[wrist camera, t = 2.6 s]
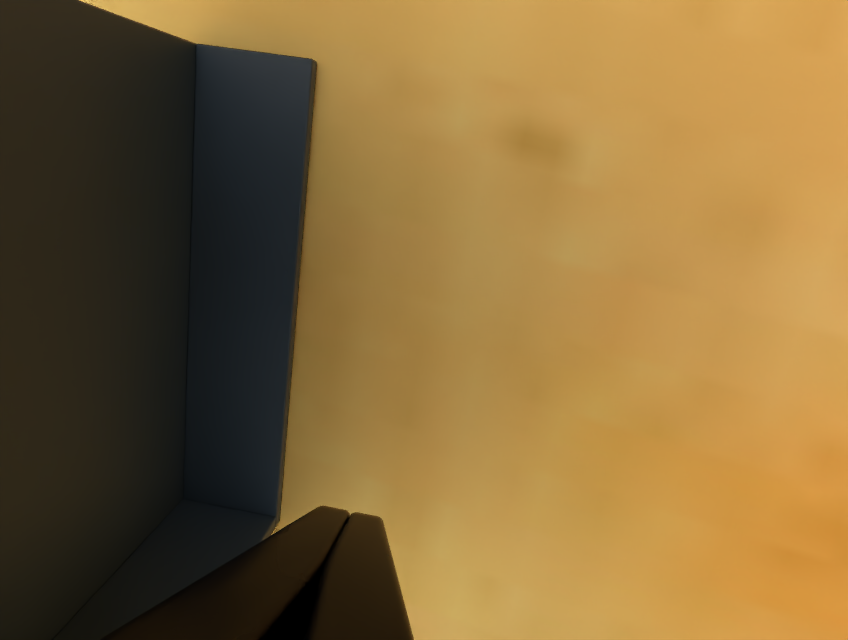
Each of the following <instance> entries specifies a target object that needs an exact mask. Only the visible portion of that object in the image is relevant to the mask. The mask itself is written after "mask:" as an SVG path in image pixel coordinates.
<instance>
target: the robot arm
mask: <svg viewBox="0 0 848 640" xmlns="http://www.w3.org/2000/svg"><path fill="white" fill-rule="evenodd" d="M101 640H414V639H413V635H412V631H411V627H410V623H409V619H408V616H407V612H406V608H405V604H404V600H403V596H402V593H401V589H400V585H399V581H398V577H397V573H396V570H395V566H394V562H393V558H392V554H391V550H390V546H389V543H388V539H387V535H386V531H385V527H384V523H383V521H382V519H381V518H380V517H378V516H373V515H368V514H363V513H358V512H355V513H352V514H351V515H350V513H349V512H348V511H347V510H343V509H338V508H333V507H328V506H319V507H317V508H316V509H314V510H312V511H311V512H309V513H307V514H306V515H304V516H302V517H301V518H299V519H297V520H296V521H294V522H292V523H291V524H289V525H287V526H286V527H284V528H283V529H281V530H279V531H278V532H276V533H274V534H273V535H271V536H269V537H268V538H266V539H264V540H263V541H261V542H259V543H258V544H256V545H254V546H253V547H251V548H250V549H248V550H246V551H245V552H243V553H241V554H240V555H238V556H236V557H235V558H233V559H231V560H230V561H228V562H226V563H225V564H223V565H221V566H220V567H218V568H217V569H215V570H213V571H212V572H210V573H208V574H207V575H205V576H203V577H202V578H200V579H198V580H197V581H195V582H193V583H192V584H190V585H188V586H187V587H185V588H184V589H182V590H180V591H179V592H177V593H175V594H174V595H172V596H170V597H169V598H167V599H165V600H164V601H162V602H160V603H159V604H157V605H156V606H154V607H152V608H151V609H149V610H147V611H146V612H144V613H142V614H141V615H139V616H137V617H136V618H134V619H132V620H131V621H129V622H127V623H126V624H124V625H123V626H121V627H119V628H118V629H116V630H114V631H113V632H111V633H109V634H108V635H106V636H104V637H103V638H101Z"/></svg>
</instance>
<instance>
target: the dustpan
mask: <svg viewBox="0 0 848 640" xmlns="http://www.w3.org/2000/svg"><path fill="white" fill-rule="evenodd" d="M316 66H317V62H316V61H315V60H313V59H309V58H301V57H294V56H286V55H279V54H271V53H264V52H256V51H249V50H241V49H234V48H227V47H219V46H212V45H204V44H195V43H193V42H190V41H187V40H185V39H182V38H179V37H176V36H174V35H171V34H168V33H166V32H163V31H160V30H157V29H155V28H152V27H149V26H147V25H144V24H141V23H138V22H136V21H133V20H130V19H128V18H125V17H122V16H119V15H117V14H114V13H111V12H109V11H106V10H103V9H101V8H98V7H95V6H92V5H90V4H87V3H84V2H82V1H79V0H0V640H101V638H103V637H104V636H106V635H108V634H109V633H111V632H113V631H114V630H116V629H118V628H119V627H121V626H123V625H124V624H126V623H127V622H129V621H131V620H132V619H134V618H136V617H137V616H139V615H141V614H142V613H144V612H146V611H147V610H149V609H151V608H152V607H154V606H156V605H157V604H159V603H160V602H162V601H164V600H165V599H167V598H169V597H170V596H172V595H174V594H175V593H177V592H179V591H180V590H182V589H184V588H185V587H187V586H188V585H190V584H192V583H193V582H195V581H197V580H198V579H200V578H202V577H203V576H205V575H207V574H208V573H210V572H212V571H213V570H215V569H217V568H218V567H220V566H221V565H223V564H225V563H226V562H228V561H230V560H231V559H233V558H235V557H236V556H238V555H240V554H241V553H243V552H245V551H246V550H248V549H250V548H251V547H253V546H254V545H256V544H258V543H259V542H261V541H263V540H264V539H266V538H268V537H269V536H270V535H271V534H272V532H273V530H274V529H275V527H276V525H277V524H278V522H279V521H280V510H281V497H282V485H283V473H284V460H285V448H286V436H287V424H288V411H289V399H290V387H291V374H292V362H293V350H294V337H295V325H296V313H297V300H298V288H299V276H300V263H301V251H302V239H303V226H304V214H305V202H306V189H307V177H308V165H309V152H310V140H311V128H312V115H313V103H314V91H315V79H316Z"/></svg>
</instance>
